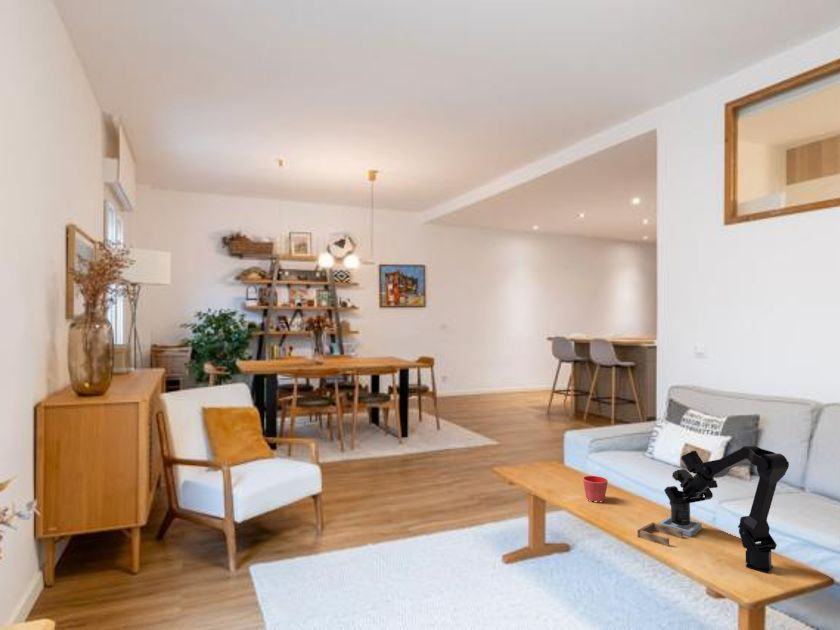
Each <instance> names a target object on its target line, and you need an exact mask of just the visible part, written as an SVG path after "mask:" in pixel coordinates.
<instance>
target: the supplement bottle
mask: <svg viewBox="0 0 840 630" xmlns="http://www.w3.org/2000/svg"><path fill="white" fill-rule="evenodd" d="M680 491H681V490H679V492H680ZM670 516H671V521H672V522H673V523H674V524H677V525H681V526H687V525H689V524H690V521H691V503H690V502H689V500H687V499H686V498H683V501H682V504H677V505H673V506H671V505H670Z"/></svg>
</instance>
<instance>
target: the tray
mask: <svg viewBox="0 0 840 630" xmlns="http://www.w3.org/2000/svg"><path fill="white" fill-rule="evenodd" d="M657 524H660V525H664V526H667V527H670V528H674V529H677V530H681V531H682V536H685V537H687V538H692V537H693V536H695V535H696V534H697V533H698V532H700V531H701V530H702V527H703V526H702V525H703V524H702V523H701V522H697V521H694V520H690V524H689V525H687V526H681V525H677V524H674V523H673V522H672V521H671V515H669V516H667V517H665V518H664V519H663V520H661V521H660V522H658V523H657Z"/></svg>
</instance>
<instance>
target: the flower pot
mask: <svg viewBox="0 0 840 630" xmlns="http://www.w3.org/2000/svg"><path fill="white" fill-rule="evenodd" d="M582 480H583V481H582V482H583V486H584V487H583V488H584V493H585V497H586V498H587V499H588V500H590V501H597V502H599V503H600V501H604V502H605V500H606V493H607V487H608V481H609V480H608V479H607V478H606V477H603V476H597V475H586V476H584V477H582ZM587 499H586V500H587ZM588 500H587V501H588ZM590 501H589V502H590Z"/></svg>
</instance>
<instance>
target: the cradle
mask: <svg viewBox="0 0 840 630" xmlns="http://www.w3.org/2000/svg"><path fill="white" fill-rule="evenodd" d="M653 531H655V532H658V533H659V532H660V533H663V534H665V535H669V536H673V537H675V538H679V539H682V538H683V535H682V531H681V530H677V529H674V528H670V527H667V526H664V525H660V524H658V523H657V522H650V523H649V524H647V525H644V526H643V527H642V528H639V529H638V530H637V537H638V538H640V537H641V539H643V538H644V540H646V539H647V541H649V540H650V542H652V541H653V542H654V543H657V544H660V545H662V546H665V547H669V546H670V538H668V537H664V536H662V535H658V534H654V533H653ZM649 532H650V533H649ZM651 532H652V533H651Z"/></svg>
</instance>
